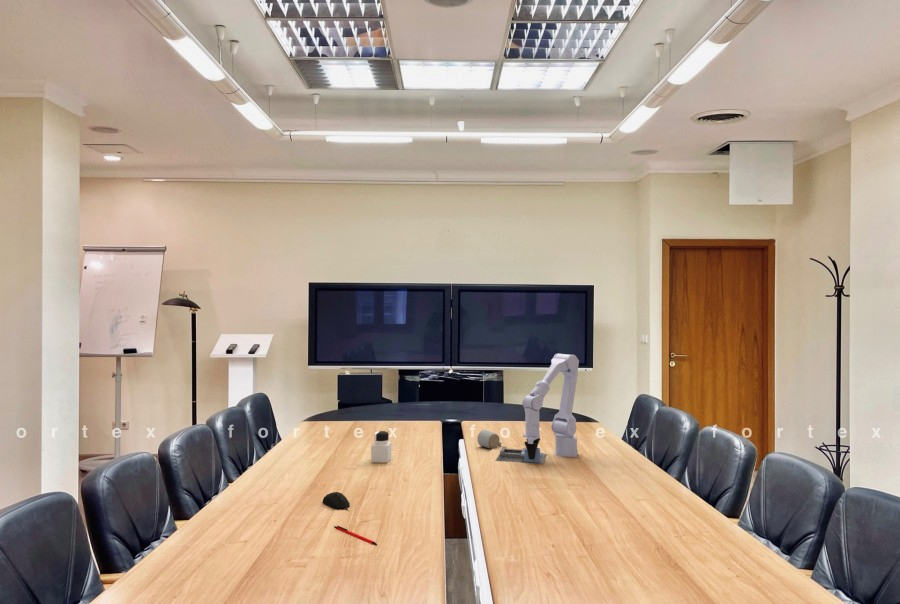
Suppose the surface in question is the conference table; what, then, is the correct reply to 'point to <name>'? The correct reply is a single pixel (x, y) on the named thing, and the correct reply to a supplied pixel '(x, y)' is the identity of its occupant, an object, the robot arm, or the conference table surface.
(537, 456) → the servo
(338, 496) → the gaming mouse
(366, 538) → the pen
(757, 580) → the conference table surface
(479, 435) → the ceramic mug
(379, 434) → the medicine bottle
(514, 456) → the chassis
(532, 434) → the robot arm
